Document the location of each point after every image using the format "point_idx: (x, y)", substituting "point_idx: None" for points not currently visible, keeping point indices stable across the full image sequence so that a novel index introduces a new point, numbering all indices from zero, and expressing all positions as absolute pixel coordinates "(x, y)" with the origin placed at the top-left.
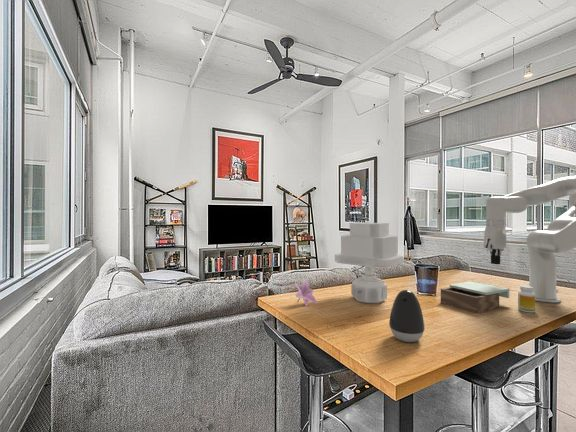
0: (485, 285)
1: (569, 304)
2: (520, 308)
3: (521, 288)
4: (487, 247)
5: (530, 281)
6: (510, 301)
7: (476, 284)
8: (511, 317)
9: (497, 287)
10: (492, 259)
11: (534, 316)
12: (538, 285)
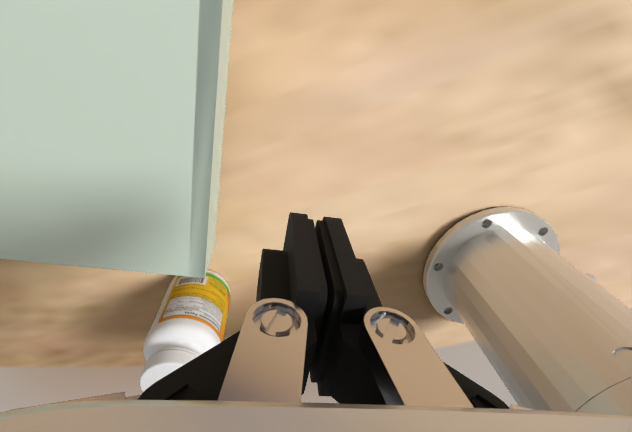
0: (147, 148)
1: (457, 339)
2: (168, 287)
3: (145, 364)
4: (215, 420)
5: (517, 288)
6: (318, 198)
7: (108, 83)
8: (24, 294)
9: (162, 227)
10: (261, 274)
11: (139, 330)
12: (476, 316)
